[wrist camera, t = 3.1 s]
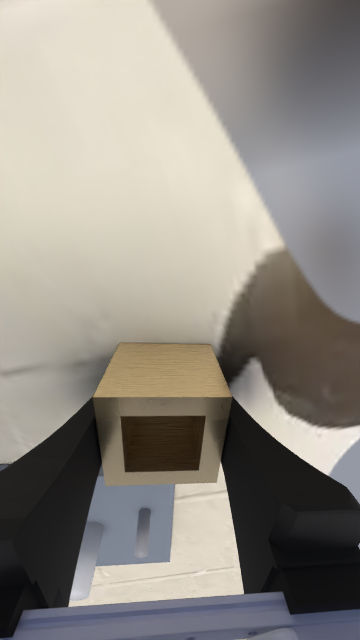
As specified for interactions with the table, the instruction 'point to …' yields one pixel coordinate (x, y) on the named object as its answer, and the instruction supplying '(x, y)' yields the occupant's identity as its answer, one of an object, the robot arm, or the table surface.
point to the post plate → (123, 529)
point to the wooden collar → (162, 415)
